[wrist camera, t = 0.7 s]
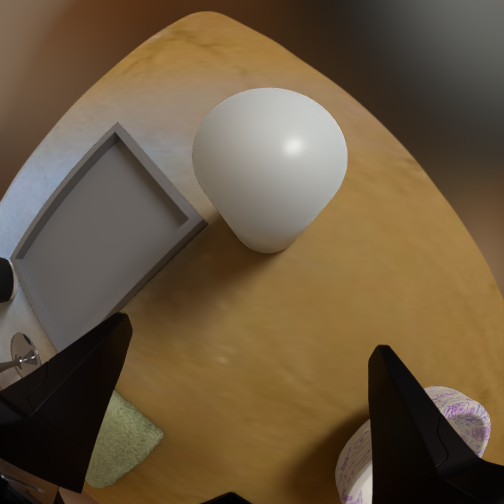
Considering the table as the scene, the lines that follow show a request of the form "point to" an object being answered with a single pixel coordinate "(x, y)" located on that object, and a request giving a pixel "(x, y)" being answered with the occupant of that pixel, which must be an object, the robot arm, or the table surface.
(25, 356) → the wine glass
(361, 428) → the paper bowls
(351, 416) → the table surface
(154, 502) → the table surface
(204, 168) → the white cylinder
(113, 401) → the washcloth
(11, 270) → the dixie cup
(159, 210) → the tray
